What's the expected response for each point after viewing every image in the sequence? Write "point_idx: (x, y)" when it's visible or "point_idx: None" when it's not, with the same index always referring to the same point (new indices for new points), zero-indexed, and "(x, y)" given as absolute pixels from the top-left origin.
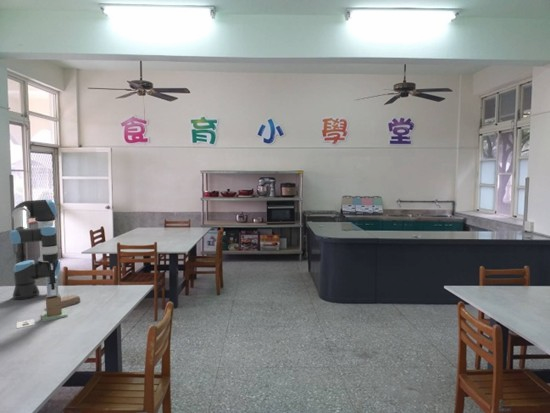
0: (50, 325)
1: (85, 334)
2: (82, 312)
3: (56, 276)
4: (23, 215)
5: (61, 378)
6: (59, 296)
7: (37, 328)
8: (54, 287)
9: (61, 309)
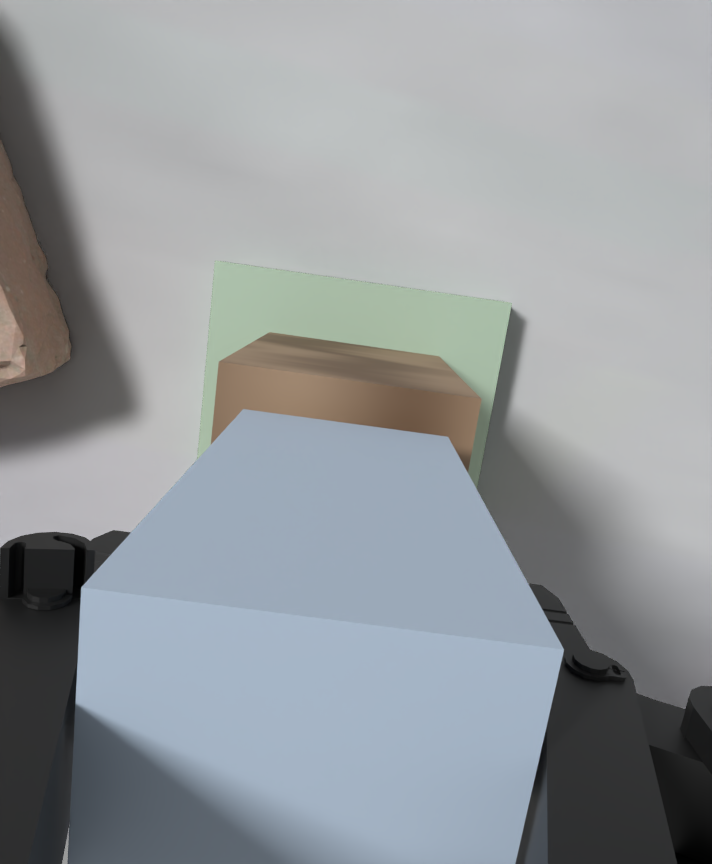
0: (667, 532)
1: None
2: (487, 89)
3: (202, 613)
4: None
5: None
6: (416, 407)
7: (648, 651)
8: (552, 610)
9: (446, 365)
